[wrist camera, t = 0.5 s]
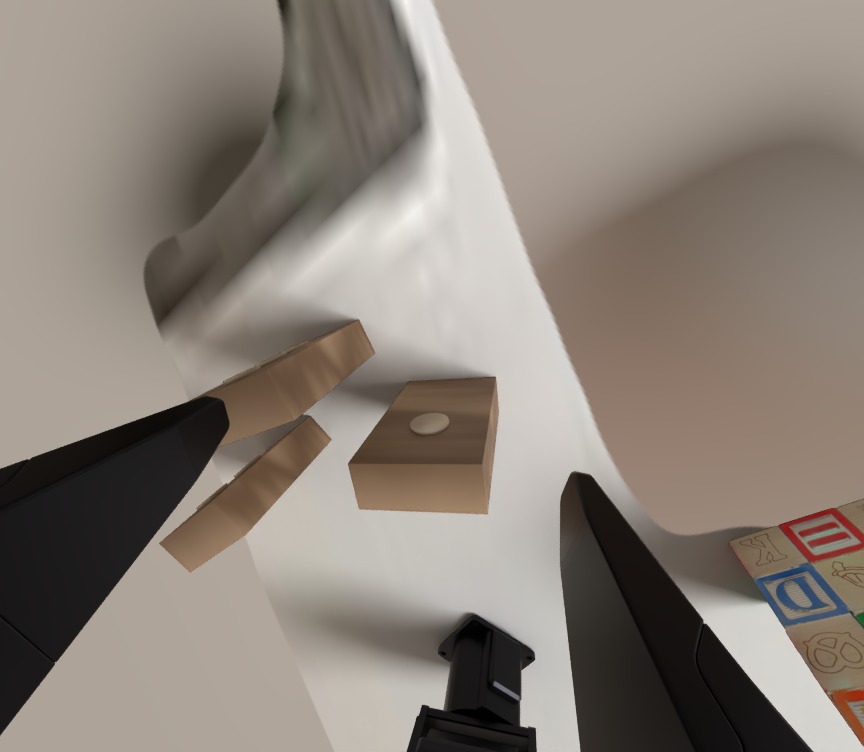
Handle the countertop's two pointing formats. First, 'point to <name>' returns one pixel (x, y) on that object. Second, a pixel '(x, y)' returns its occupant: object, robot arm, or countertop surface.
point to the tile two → (245, 497)
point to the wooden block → (431, 449)
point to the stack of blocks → (818, 596)
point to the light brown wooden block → (290, 381)
